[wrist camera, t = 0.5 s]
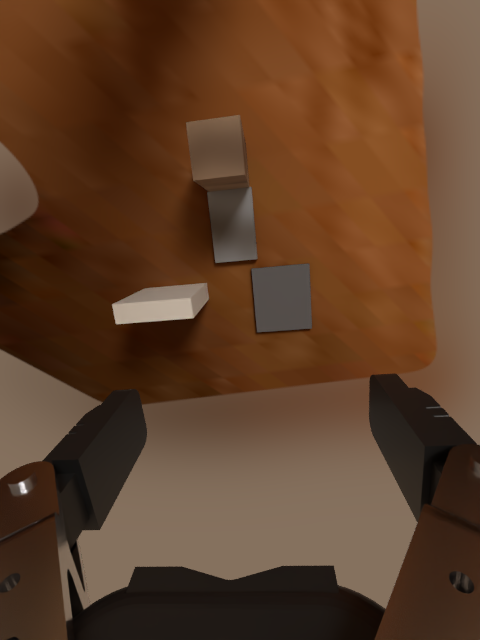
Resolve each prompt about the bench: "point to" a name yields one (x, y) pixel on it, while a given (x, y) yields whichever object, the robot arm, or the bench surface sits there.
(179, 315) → the slab tile
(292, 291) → the mat
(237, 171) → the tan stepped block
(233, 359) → the bench surface
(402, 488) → the robot arm
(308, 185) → the bench surface
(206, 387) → the bench surface
